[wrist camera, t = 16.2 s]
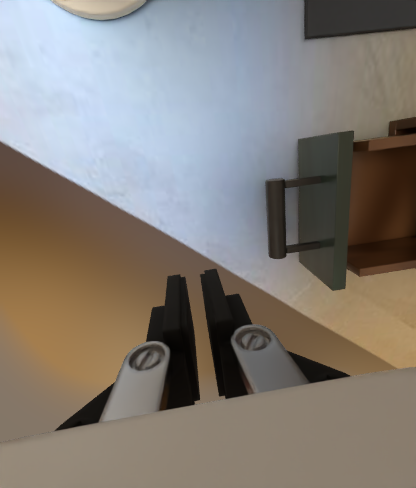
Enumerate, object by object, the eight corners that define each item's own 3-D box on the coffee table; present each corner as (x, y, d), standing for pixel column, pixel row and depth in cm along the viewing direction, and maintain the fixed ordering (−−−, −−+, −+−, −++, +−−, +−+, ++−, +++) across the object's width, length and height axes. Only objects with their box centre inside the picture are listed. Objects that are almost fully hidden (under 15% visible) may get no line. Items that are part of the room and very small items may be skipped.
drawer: (258, 268, 29) (280, 299, 23) (250, 145, 25) (274, 140, 19) (419, 243, 31) (484, 266, 24) (437, 121, 26) (522, 109, 20)
